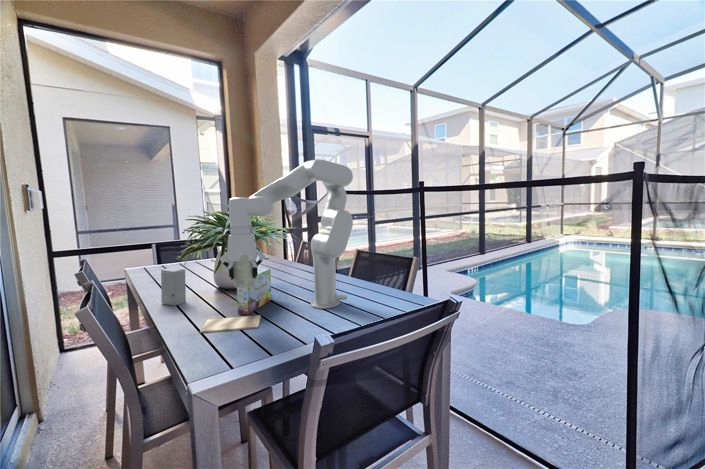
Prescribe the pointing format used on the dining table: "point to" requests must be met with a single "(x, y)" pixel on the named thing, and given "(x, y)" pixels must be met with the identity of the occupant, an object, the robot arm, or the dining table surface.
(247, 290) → the snack box
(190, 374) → the dining table surface
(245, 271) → the skincare box
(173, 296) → the skincare box
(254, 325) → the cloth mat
